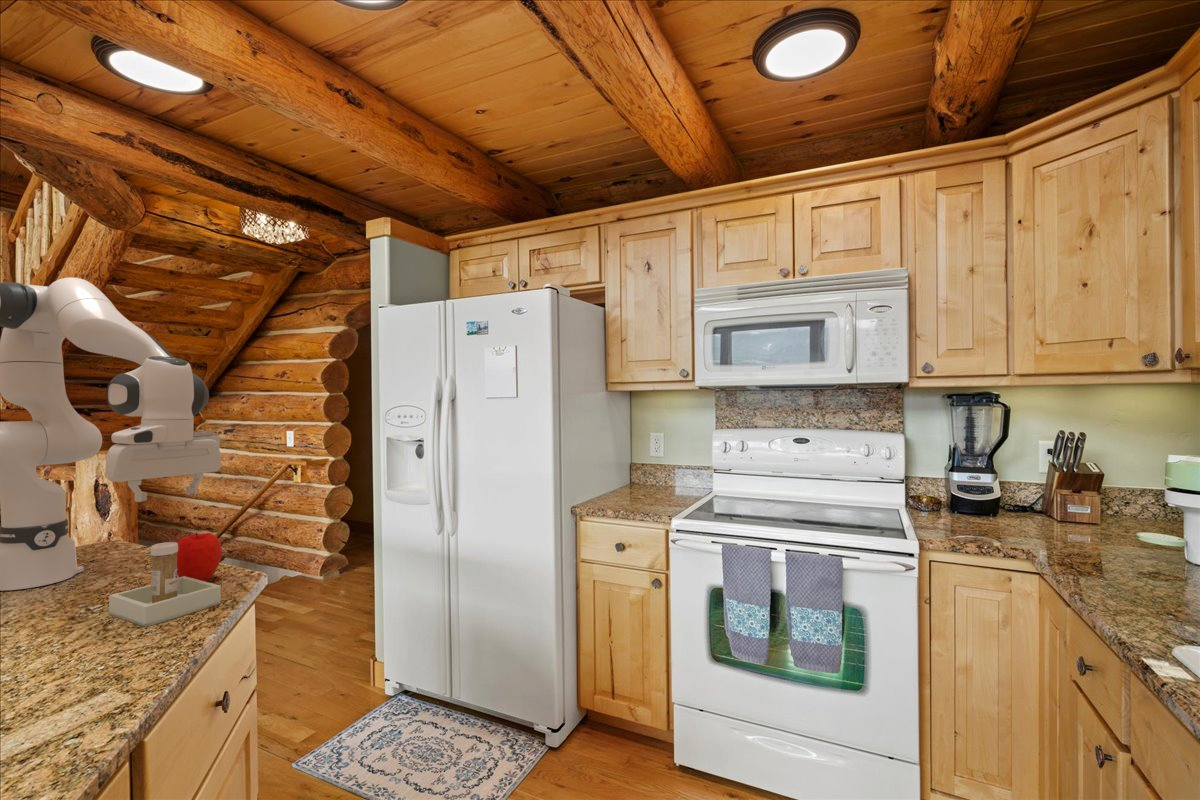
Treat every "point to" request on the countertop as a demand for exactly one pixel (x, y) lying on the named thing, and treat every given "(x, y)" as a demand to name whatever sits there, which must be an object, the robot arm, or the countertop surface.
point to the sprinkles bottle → (164, 571)
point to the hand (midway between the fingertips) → (167, 497)
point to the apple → (198, 556)
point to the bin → (164, 602)
